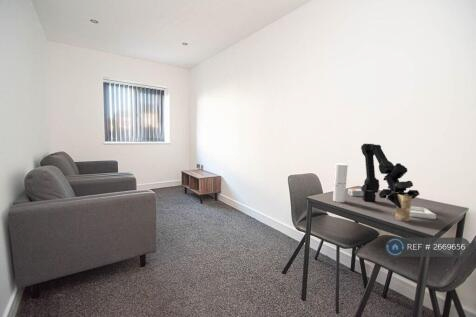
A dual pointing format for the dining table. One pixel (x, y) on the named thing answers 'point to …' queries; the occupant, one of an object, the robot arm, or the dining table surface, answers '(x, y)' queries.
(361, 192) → the skincare box
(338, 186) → the cylindrical container
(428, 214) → the tray
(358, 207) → the dining table surface
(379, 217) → the dining table surface
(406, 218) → the oak block
